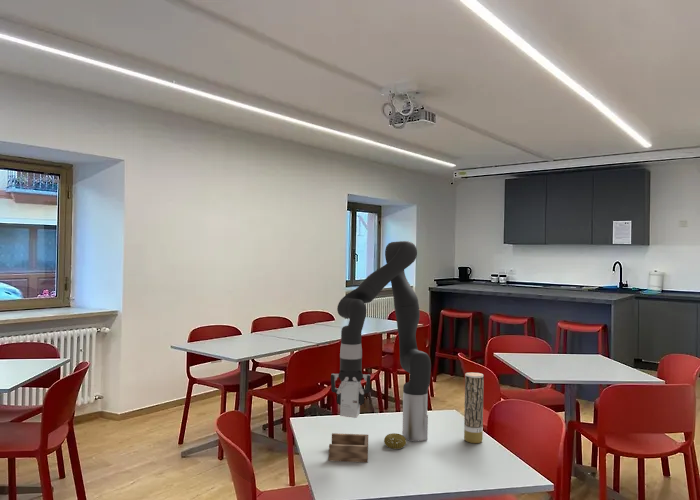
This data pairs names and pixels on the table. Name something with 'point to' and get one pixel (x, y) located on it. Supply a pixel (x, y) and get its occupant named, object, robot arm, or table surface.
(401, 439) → the sculpture
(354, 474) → the table surface
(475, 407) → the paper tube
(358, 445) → the u rest
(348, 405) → the skincare box
